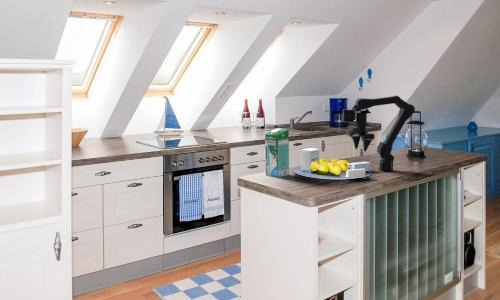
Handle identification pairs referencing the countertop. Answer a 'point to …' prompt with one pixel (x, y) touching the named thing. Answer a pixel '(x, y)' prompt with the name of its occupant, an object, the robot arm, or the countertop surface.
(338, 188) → the countertop surface
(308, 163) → the supplement box
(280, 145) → the milk carton
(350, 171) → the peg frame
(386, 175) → the countertop surface
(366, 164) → the pale blue block
